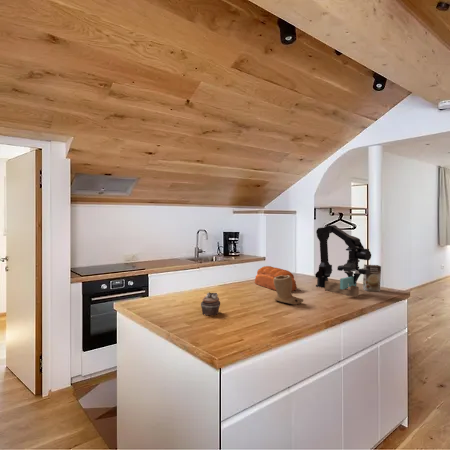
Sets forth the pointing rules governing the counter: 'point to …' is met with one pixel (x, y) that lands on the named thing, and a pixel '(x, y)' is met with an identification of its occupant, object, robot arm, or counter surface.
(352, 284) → the crossbar
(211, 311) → the cupcake
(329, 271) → the robot arm
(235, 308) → the counter surface
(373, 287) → the coffee box
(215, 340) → the counter surface
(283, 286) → the brown hollow boot-shaped piece
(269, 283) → the bread
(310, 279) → the counter surface
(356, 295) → the rail
